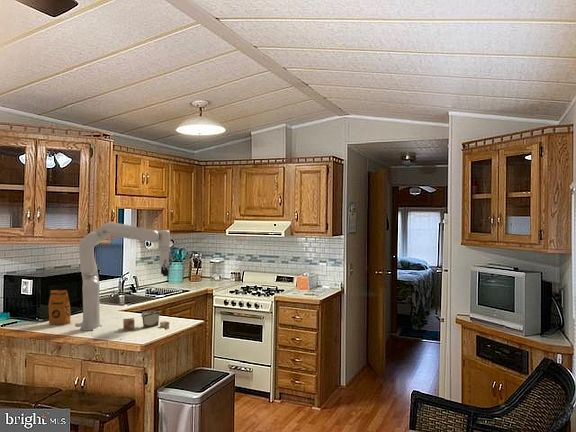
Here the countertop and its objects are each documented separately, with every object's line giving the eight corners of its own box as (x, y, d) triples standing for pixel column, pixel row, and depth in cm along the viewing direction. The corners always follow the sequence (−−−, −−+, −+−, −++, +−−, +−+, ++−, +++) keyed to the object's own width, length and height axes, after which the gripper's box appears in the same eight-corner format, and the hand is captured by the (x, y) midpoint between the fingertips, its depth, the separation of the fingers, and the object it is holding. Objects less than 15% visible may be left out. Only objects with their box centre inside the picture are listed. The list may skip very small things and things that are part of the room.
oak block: (163, 329, 290) (163, 323, 290) (160, 328, 293) (160, 322, 293) (169, 328, 293) (169, 322, 293) (166, 327, 296) (166, 321, 296)
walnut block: (123, 331, 282) (123, 320, 282) (123, 328, 288) (123, 318, 288) (134, 330, 284) (134, 320, 284) (133, 327, 290) (133, 318, 290)
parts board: (118, 334, 279) (118, 332, 279) (118, 330, 288) (118, 328, 288) (140, 332, 284) (140, 330, 284) (138, 328, 293) (138, 326, 293)
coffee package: (64, 325, 302) (64, 291, 302) (46, 325, 304) (46, 291, 304) (73, 322, 312) (73, 289, 312) (55, 322, 314) (55, 288, 314)
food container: (154, 325, 301) (154, 309, 301) (160, 326, 297) (160, 311, 297) (137, 329, 291) (137, 313, 291) (143, 330, 287) (142, 314, 287)
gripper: (156, 248, 317) (157, 273, 317) (160, 250, 301) (160, 276, 301) (168, 248, 320) (168, 273, 320) (172, 249, 304) (172, 276, 304)
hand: (164, 275), depth 310 cm, fingers open, 9 cm apart
